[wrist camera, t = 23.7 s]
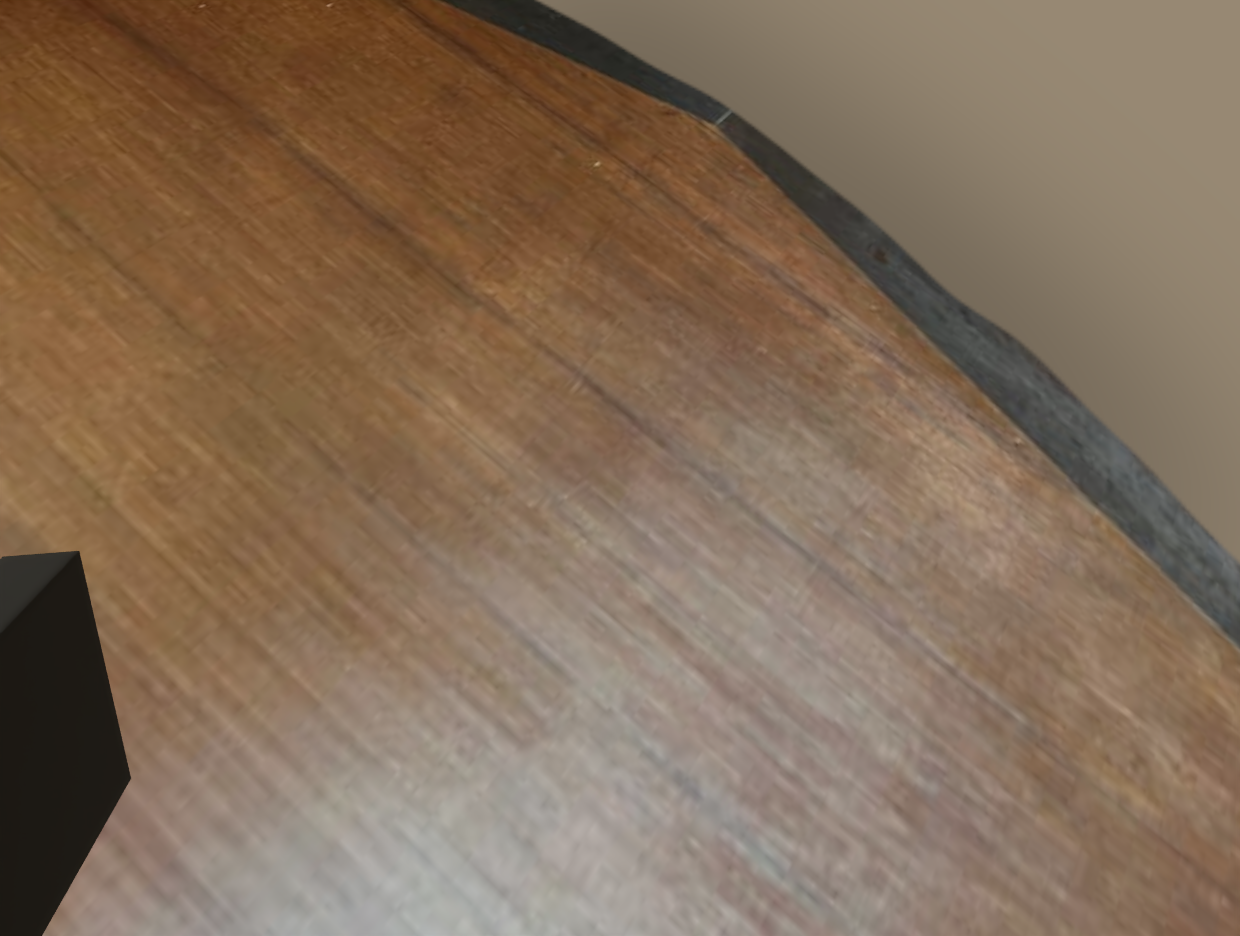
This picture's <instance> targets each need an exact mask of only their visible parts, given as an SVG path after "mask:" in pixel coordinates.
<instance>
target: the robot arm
mask: <svg viewBox="0 0 1240 936" xmlns="http://www.w3.org/2000/svg"><path fill="white" fill-rule="evenodd" d="M130 779H131V776H130V772H129V767H128V763H127V759H126V754H125V750H124V746H123V741H122V737H121V732H120V728H119V724H118V719H117V715H116V710H115V706H114V702H113V697H112V693H111V689H110V684H109V680H108V675H107V671H106V667H105V662H104V658H103V653H102V649H101V645H100V640H99V636H98V631H97V627H96V623H95V618H94V614H93V610H92V605H91V601H90V596H89V592H88V588H87V583H86V579H85V574H84V570H83V566H82V561H81V557H80V552H79V551H72V552H59V553H46V554H33V555H20V556H7V557H2V558H1V559H0V936H42V935H43V933H44V931H45V929H46V928H47V926H48V924H49V922H50V921H51V919H52V917H53V915H54V914H55V912H56V910H57V908H58V906H59V905H60V903H61V901H62V899H63V898H64V896H65V894H66V892H67V891H68V889H69V887H70V885H71V884H72V882H73V880H74V878H75V876H76V875H77V873H78V871H79V869H80V868H81V866H82V864H83V862H84V861H85V859H86V857H87V855H88V853H89V852H90V850H91V848H92V846H93V845H94V843H95V841H96V839H97V838H98V836H99V834H100V832H101V831H102V829H103V827H104V825H105V823H106V822H107V820H108V818H109V816H110V815H111V813H112V811H113V809H114V808H115V806H116V804H117V802H118V800H119V799H120V797H121V795H122V793H123V792H124V790H125V788H126V786H127V785H128V783H129V781H130Z"/></svg>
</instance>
